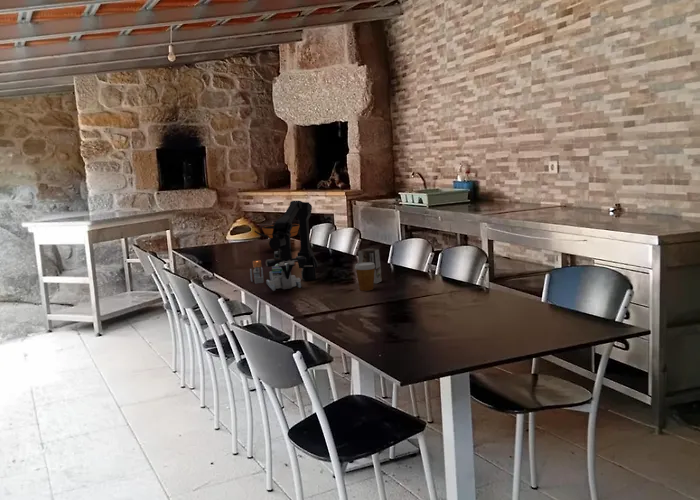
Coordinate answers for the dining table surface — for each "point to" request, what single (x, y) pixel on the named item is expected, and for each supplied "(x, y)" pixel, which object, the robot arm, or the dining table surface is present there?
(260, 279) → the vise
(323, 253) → the dining table surface
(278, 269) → the light bulb box
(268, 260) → the robot arm
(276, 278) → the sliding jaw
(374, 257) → the coffee box
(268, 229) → the cup
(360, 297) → the dining table surface
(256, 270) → the lever
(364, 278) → the disposable coffee cup
